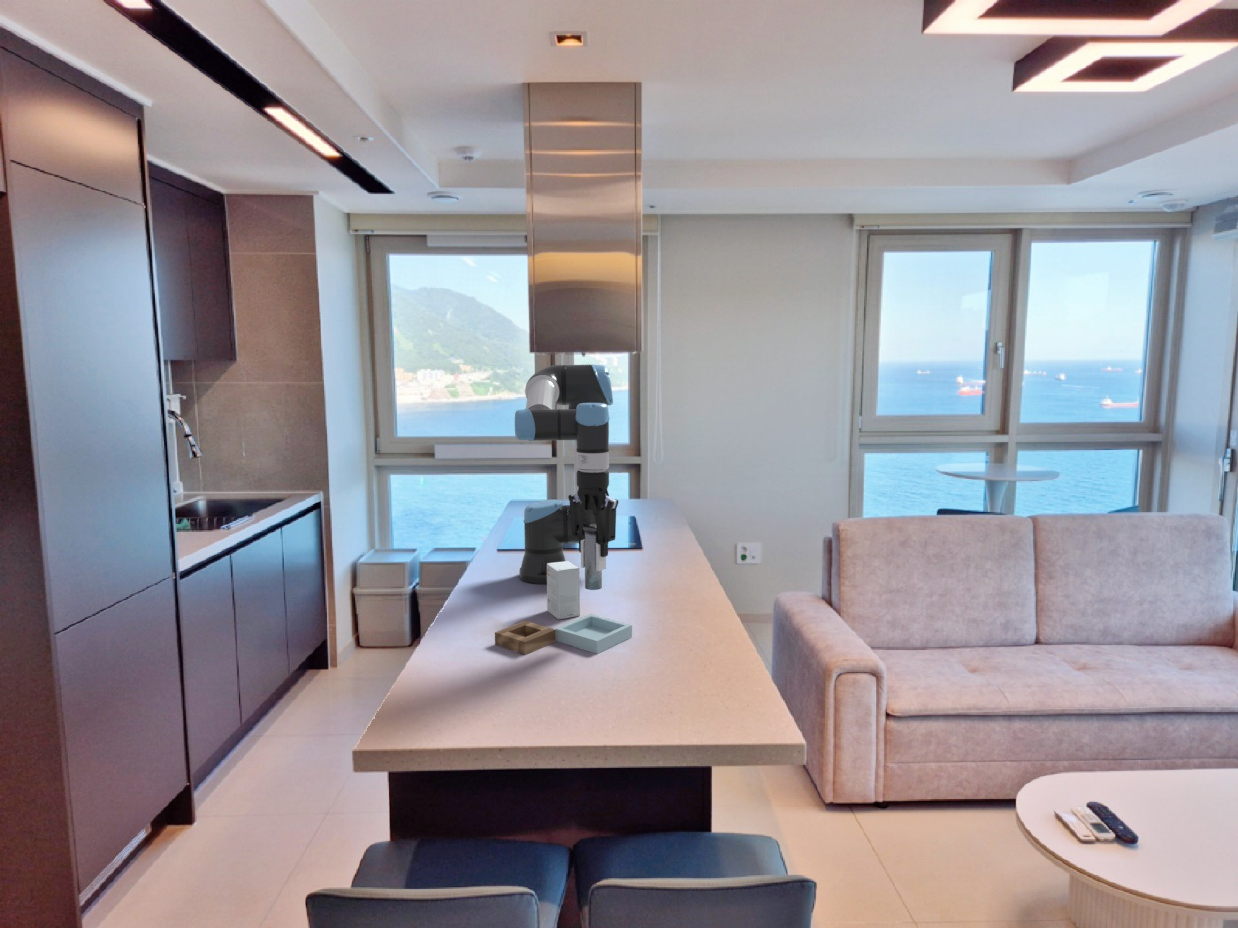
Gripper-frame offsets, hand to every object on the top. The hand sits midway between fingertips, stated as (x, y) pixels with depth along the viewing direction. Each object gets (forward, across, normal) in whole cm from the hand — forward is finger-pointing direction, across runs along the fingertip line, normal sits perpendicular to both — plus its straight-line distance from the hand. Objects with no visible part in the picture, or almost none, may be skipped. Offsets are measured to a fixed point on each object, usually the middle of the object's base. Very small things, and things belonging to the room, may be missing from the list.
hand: (593, 567), depth 178 cm
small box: (+18, -18, +9) cm, 27 cm away
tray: (+18, 0, 0) cm, 18 cm away
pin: (+5, 0, 0) cm, 5 cm away
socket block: (+18, -11, -12) cm, 24 cm away
